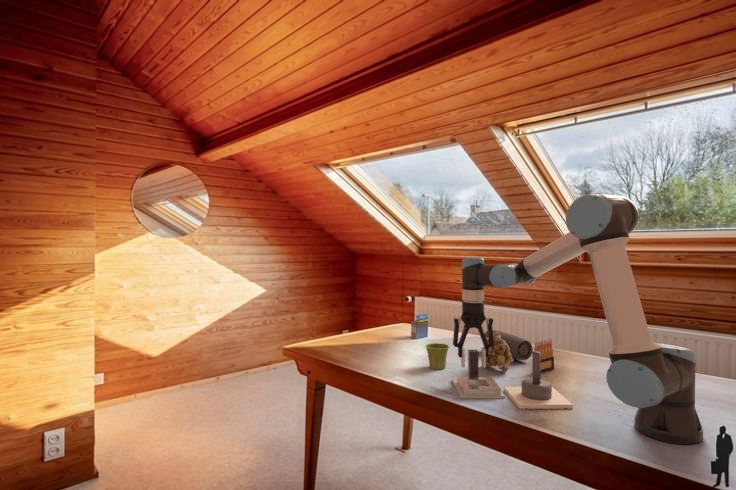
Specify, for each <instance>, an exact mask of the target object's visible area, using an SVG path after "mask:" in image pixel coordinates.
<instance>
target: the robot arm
mask: <svg viewBox="0 0 736 490" xmlns="http://www.w3.org/2000/svg"><path fill="white" fill-rule="evenodd" d="M565 214H566V215H565V224H566V227H567V229H568V232H567V233H565V234H563V236H561V237H559V238H556V239H555V240H553V241H552V242H550V243H548V244H547V245H545V246H543V247H541V248H540V249H538V250H536V251H534V252H532V253H531V254H529V255H528V256H526V257H525V258H523V259H520V260H519V261H518V262H512V263H510V262H509V263H499V264H497V263H495V264H494V263H493V264H492V263H491V264H490V263H485V259H484V258H483V257H480V256H479V257H477V256H474V257H471V256H466V257H463V259H462V264H461V282H462V283H461V284H462V285H461V286H462V287H461V292H462V293H461V301H462V303H461V316H459V317H453V322H454V323H453V324H454V326H453V327H454V328H453V337H452V338H453V339H452V345H453V346H454V348H457V356H458V358H460V365H461V367H462V368H466V367H465V366H466V365H465V364H466V363H465V361H466V360H465V359H466V357H465V356H466V353H465V352H466V351H465V347H464V344H465V341H466V338H467V336H468V333H469V331H470V329H477V331H478V334H479V336H480V339H481V342H482V344H483V346H482V347H481V366H482V367H483V368H486V367H487V366H486V357H488V349H489V347H493V346H494V340H493V330H494V329H493V323H494V319H493V318H492V317H487V316H486V315H485V302H484V301H485V287H491V288H492V287H493V288H497V289H508V288H511V287H512V286H517V285H529V284H532V283H534V282H535V281H537V279H538V277H540V276H542V275H544V274H545V273H547V272H549V271H551V270H553V269H555V268H557V267H559V266H561V265H563V264H565V263H567V262H569V261H571V260H572V259H574V258H576V257H579V256H580V255H582V254H584V253H587V254H588V256H589V259H590V263H591V266H592V270H593V274H594V277H595V281H596V282H595V283H596V286H597V289H598V293H599V296H600V300H601V304H602V308H603V311H604V314H605V315H604V316H605V319H606V323H607V327H608V331H609V334H610V339H611V342H612V346H611V347H610V349H608V356H609V359H610V363H611V364H610V365H609V367H608V369H607V371H606V378H605V379H606V383H607V385H608V388H609V390H610V391H611V393H612V394H613V395H614V397H616V399H618V400H620V401H621V402H622V403H623V404H625V405H626V406H629V407H632V408H636V409H637V410H636V413H635V415H634V423H633V424H634V428H635V429H636V430H637V431H638V432H639V433H640V434H642V435H645V436H646V437H649V438H652V439H654V440H658V441H661V442H665V443H670V444H674V445H675V444H676V445H697V444H700V443H702V442H703V441H704V428H703V427H702V424H701V423H702V422H701V420H700V417H699V415H698V412H697V410H696V365H697V362H696V354H695V352H694V351H693V350H692V349H691V348H687V347H684V346H677V345H673V344H666V343H658V342H655V341H654V340H653V339H652V337H651V333H650V330H649V326H648V323H647V320H646V316H645V312H644V309H643V305H642V302H641V298H640V295H639V291H638V289H637V288H638V286H637V283H636V280H635V277H634V273H633V270H632V266H631V263H630V260H629V255H628V252H627V248H626V245H627V244H628V242H629V241H630V239H631V238H630V235H629V234H631V233H632V232H633V231H634V230H635V228H636V227H637V225H638V222H639V220H640V219H639V217H640V216H639V215H640V213H639V209H638V208H637V206H636V204H635V203H634V202H633V201H632V200H631V199H629V198H627V197H625V196H621V195H615V194H614V195H612V194H611V195H609V194H602V193H599V192H598V193H590V194H587V193H586V194H584V195H581V196H579V197H577V198H576V199H575V200H574V201H572V202H571V204H570V205H569V207H568V209H567V211H566V213H565ZM461 321H462V322H463V323H464V325H463V329H462V332H461V334H460V337H459V333H460V324H461ZM484 322H485V323H486V331H488V341H489V343H487V340H486V337H485V332H484V327H483V326H482V325H483V324H484Z"/></svg>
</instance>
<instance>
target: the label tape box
mask: <svg viewBox="0 0 736 490" xmlns="http://www.w3.org/2000/svg"><path fill="white" fill-rule="evenodd" d="M410 327H411V328H410V329H411V330H410V338H411V339H413V340H419V339H423V338H428V336H429V314H428V313H422V314H416V315H415V320H413V321H411V324H410Z"/></svg>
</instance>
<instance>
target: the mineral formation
mask: <svg viewBox="0 0 736 490" xmlns="http://www.w3.org/2000/svg"><path fill="white" fill-rule="evenodd" d="M486 340H487V343H489V341H488V338H486ZM493 340H494V346H493V347H489V349H488V357H486V367H496V366H498V369H499V370H501V371H502V373H507V371H509V366H510V364H511V363H514V360H513V358H512V356H511V353H510V349H509V346H508V345H507V343H505V340H503V339H501V335H500V334H499V333H498V332H495V333H494V334H493Z"/></svg>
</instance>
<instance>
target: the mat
mask: <svg viewBox="0 0 736 490" xmlns="http://www.w3.org/2000/svg"><path fill="white" fill-rule="evenodd" d="M451 382H452V384H453V386H454V388H455V390H456V392H457V394H458V396H459V397H460V399H505V398H506V397H505V394H504V393H503V392H502V391H501V395H463V393H462V391H461V389H460V388H459V386H458V384H457V378H451Z"/></svg>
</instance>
